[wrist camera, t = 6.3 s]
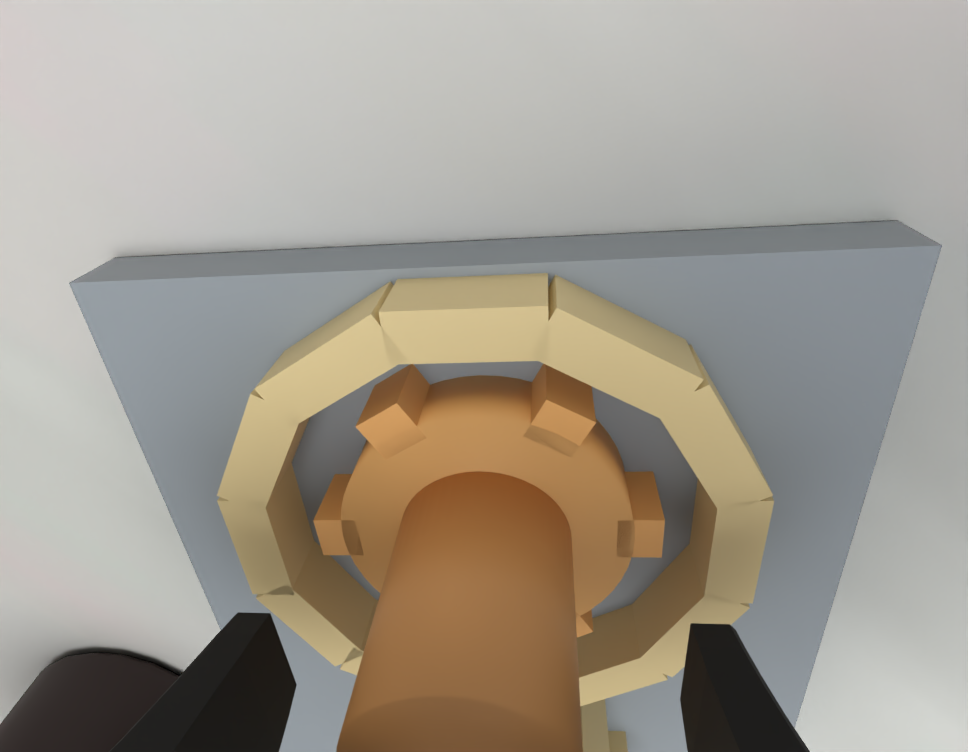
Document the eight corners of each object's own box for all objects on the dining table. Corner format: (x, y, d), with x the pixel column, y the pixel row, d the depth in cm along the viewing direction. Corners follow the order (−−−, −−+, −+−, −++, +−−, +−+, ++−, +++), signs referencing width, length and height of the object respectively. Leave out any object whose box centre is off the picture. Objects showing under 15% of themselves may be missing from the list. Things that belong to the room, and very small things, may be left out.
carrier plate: (897, 220, 12) (1075, 320, 8) (755, 762, 21) (803, 932, 17) (115, 257, 13) (-62, 353, 9) (303, 741, 23) (253, 891, 19)
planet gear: (661, 355, 12) (753, 617, 7) (643, 594, 15) (697, 894, 10) (307, 366, 13) (139, 607, 7) (364, 590, 16) (276, 865, 11)
